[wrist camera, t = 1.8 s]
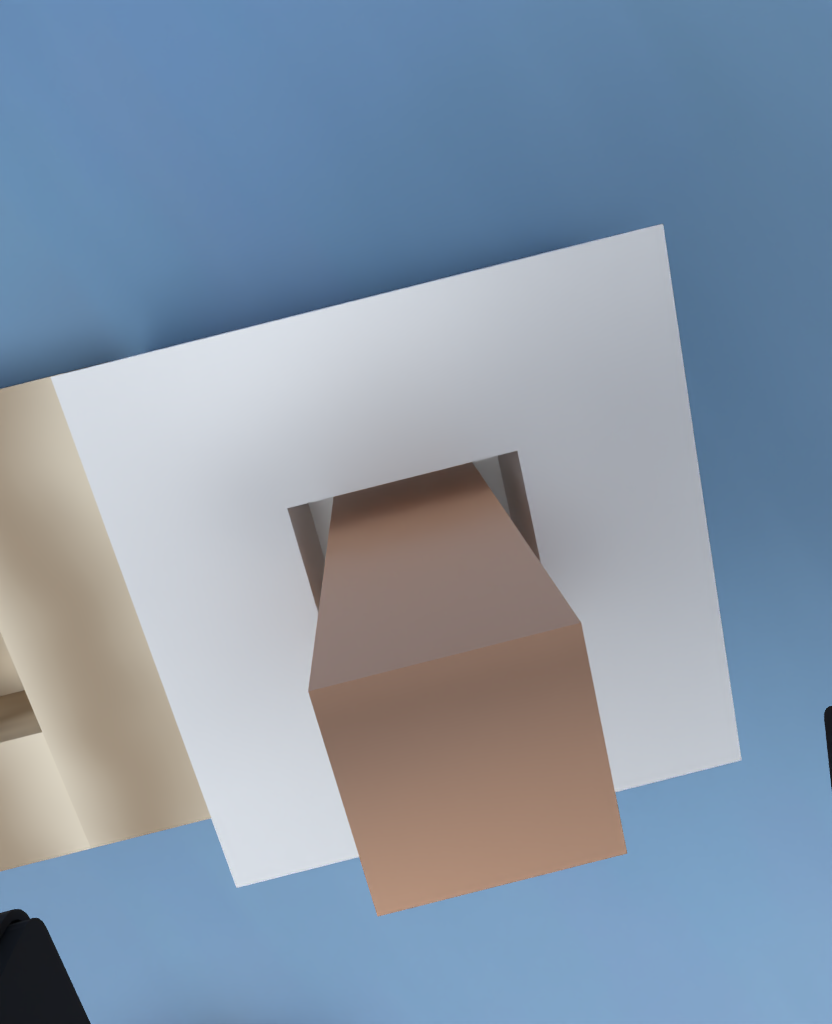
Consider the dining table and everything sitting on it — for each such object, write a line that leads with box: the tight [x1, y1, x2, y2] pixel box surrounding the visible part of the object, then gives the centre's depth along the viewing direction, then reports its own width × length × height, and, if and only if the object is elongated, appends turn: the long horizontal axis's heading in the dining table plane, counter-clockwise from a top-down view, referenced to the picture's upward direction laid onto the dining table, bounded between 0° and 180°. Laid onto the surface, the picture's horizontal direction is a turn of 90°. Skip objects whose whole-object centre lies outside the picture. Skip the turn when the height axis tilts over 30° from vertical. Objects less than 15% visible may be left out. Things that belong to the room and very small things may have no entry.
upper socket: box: [51, 224, 741, 888], centre depth 23 cm, size 14×14×8 cm
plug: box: [308, 462, 627, 916], centre depth 18 cm, size 4×4×12 cm
